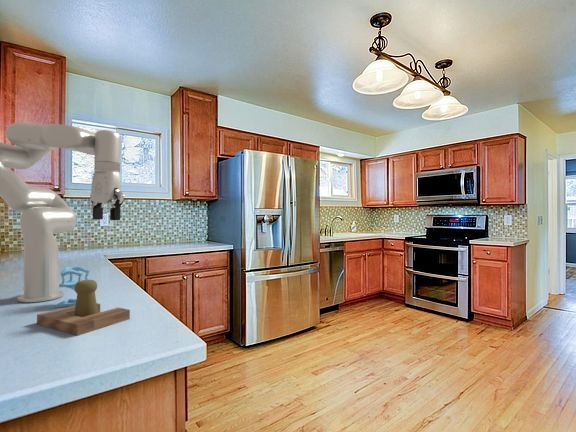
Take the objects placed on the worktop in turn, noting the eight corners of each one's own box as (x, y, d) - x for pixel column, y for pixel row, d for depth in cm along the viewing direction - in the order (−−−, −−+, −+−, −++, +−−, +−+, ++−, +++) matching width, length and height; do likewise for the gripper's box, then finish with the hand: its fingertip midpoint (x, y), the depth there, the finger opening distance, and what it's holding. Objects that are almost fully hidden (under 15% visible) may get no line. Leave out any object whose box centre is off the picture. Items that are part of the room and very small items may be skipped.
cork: (86, 325, 84) (86, 283, 84) (67, 323, 85) (67, 282, 85) (104, 317, 90) (104, 278, 90) (85, 316, 91) (85, 277, 91)
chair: (83, 307, 101) (84, 268, 101) (54, 307, 100) (54, 269, 100) (94, 300, 109) (94, 265, 109) (67, 301, 107) (67, 265, 107)
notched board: (36, 323, 85) (36, 314, 85) (89, 310, 98) (89, 301, 98) (77, 335, 77) (77, 325, 77) (129, 318, 89) (129, 309, 89)
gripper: (81, 168, 109) (80, 219, 109) (112, 165, 100) (110, 220, 100) (103, 171, 115) (102, 219, 115) (134, 168, 107) (132, 220, 107)
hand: (106, 219), depth 108 cm, fingers open, 9 cm apart
